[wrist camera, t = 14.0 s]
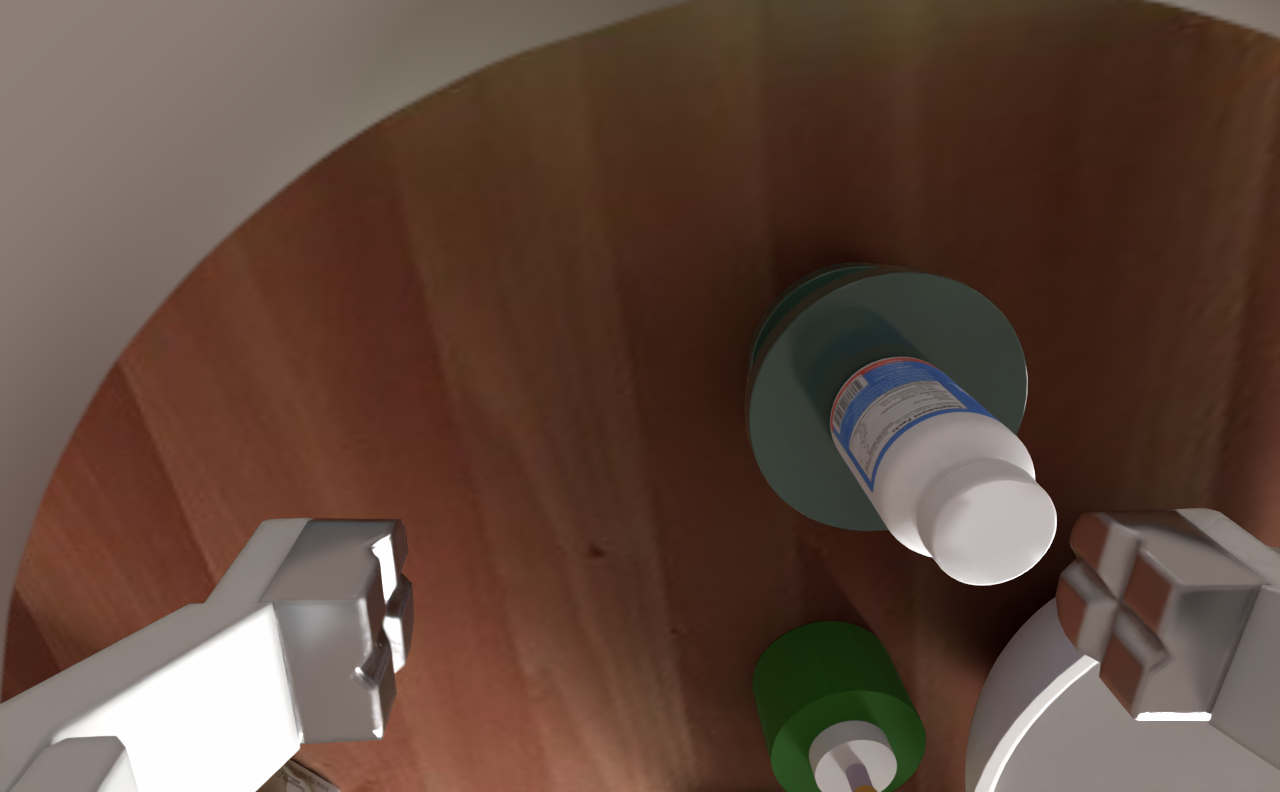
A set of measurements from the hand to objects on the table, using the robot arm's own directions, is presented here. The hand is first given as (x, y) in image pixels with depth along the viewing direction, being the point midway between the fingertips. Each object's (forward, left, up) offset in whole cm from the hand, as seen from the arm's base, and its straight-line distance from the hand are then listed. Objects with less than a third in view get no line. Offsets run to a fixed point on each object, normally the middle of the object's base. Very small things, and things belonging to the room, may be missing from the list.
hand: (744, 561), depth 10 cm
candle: (+28, +12, -29) cm, 42 cm away
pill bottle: (+8, +11, -23) cm, 26 cm away
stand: (+8, +11, -29) cm, 32 cm away
